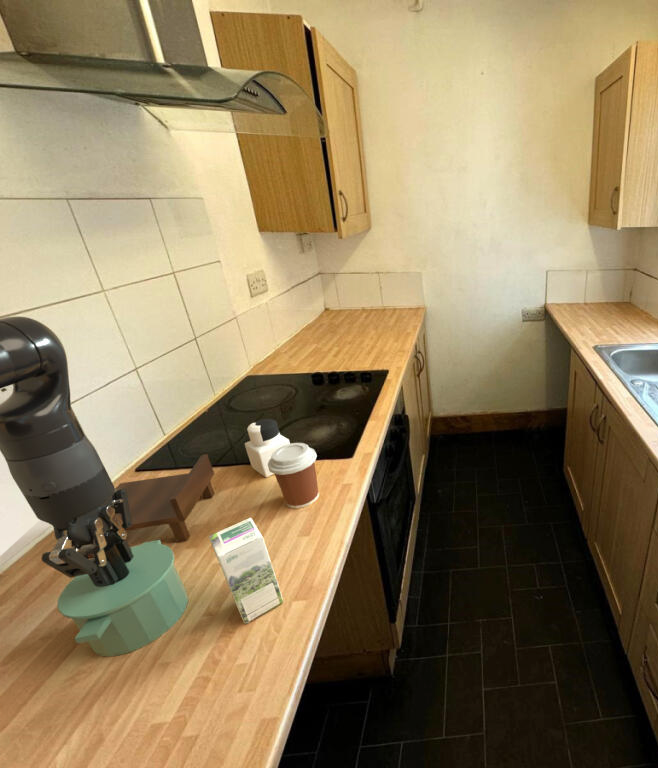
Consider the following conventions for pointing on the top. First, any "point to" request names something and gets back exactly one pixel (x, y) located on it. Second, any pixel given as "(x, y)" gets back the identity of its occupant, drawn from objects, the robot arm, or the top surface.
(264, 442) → the medicine bottle
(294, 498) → the coffee cup
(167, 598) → the pot
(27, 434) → the robot arm
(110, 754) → the top surface
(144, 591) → the lid
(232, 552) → the milk carton
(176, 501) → the shelf
